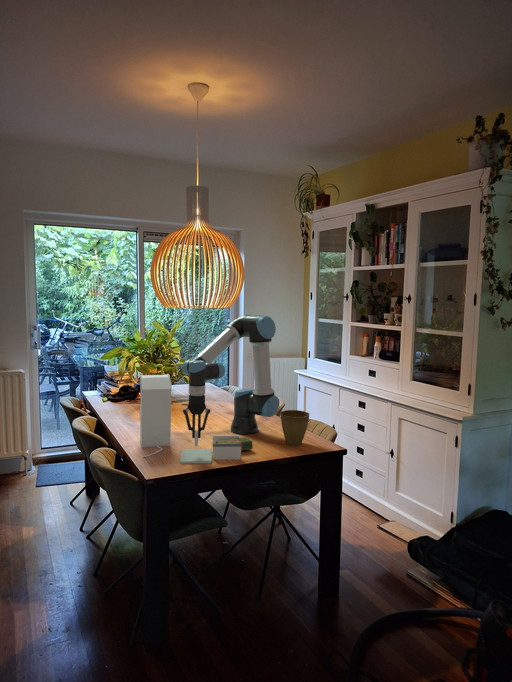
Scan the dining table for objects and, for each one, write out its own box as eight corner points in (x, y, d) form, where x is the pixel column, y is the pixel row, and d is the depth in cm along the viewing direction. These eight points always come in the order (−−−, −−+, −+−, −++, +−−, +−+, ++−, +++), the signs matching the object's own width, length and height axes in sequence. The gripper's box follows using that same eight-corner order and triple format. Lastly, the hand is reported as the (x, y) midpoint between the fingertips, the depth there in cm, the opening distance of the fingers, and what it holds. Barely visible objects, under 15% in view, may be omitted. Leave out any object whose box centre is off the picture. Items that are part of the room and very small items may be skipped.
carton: (215, 449, 241) (215, 440, 241) (245, 444, 248) (245, 436, 248) (222, 454, 234) (222, 445, 234) (252, 449, 241) (252, 440, 241)
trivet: (182, 451, 239) (182, 449, 239) (211, 451, 240) (211, 449, 240) (179, 463, 221) (179, 461, 221) (211, 463, 223) (211, 461, 222)
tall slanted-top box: (166, 436, 265) (166, 370, 262) (174, 456, 231) (174, 382, 228) (138, 437, 261) (138, 371, 258) (142, 458, 227) (142, 382, 224)
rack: (212, 447, 247) (212, 432, 246) (238, 446, 248) (239, 432, 247) (212, 459, 228) (212, 444, 227) (240, 459, 229) (241, 444, 228)
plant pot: (273, 443, 255) (274, 412, 254) (292, 438, 265) (293, 408, 264) (295, 450, 244) (296, 418, 243) (314, 444, 255) (315, 413, 254)
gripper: (182, 395, 224) (181, 447, 226) (211, 396, 225) (210, 447, 227) (183, 392, 231) (182, 442, 233) (211, 393, 233) (210, 442, 235)
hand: (196, 444), depth 230 cm, fingers closed
